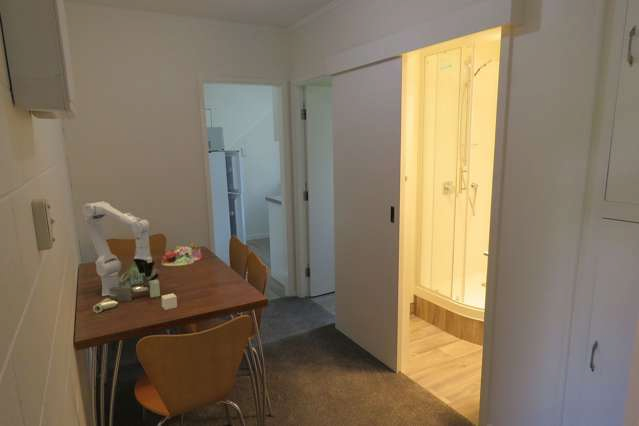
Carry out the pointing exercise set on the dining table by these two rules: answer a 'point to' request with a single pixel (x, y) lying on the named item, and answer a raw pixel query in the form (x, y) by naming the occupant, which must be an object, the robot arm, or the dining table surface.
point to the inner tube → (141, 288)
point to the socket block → (154, 288)
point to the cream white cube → (169, 301)
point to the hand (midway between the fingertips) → (145, 274)
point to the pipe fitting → (104, 305)
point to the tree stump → (134, 276)
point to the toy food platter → (181, 256)
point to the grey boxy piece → (121, 293)
